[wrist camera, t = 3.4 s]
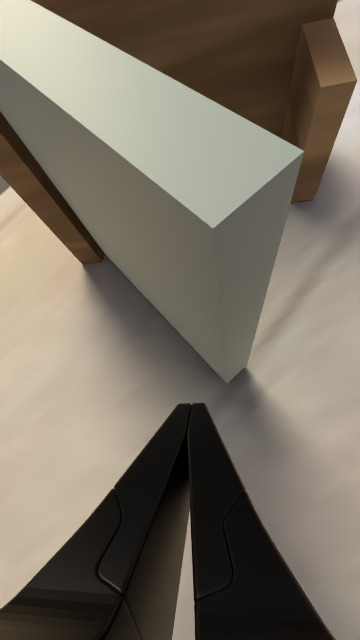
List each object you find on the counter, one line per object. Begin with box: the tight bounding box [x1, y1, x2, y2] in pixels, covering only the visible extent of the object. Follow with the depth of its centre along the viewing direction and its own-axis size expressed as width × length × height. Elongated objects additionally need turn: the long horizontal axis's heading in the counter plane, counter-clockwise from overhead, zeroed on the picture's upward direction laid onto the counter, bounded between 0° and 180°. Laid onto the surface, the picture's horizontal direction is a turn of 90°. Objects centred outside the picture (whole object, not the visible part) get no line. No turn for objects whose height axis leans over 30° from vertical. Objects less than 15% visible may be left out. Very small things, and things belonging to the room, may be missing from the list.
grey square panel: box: [0, 0, 304, 384], centre depth 12 cm, size 2×13×13 cm, turn 41°
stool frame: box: [0, 0, 357, 264], centre depth 15 cm, size 10×16×13 cm, turn 91°
